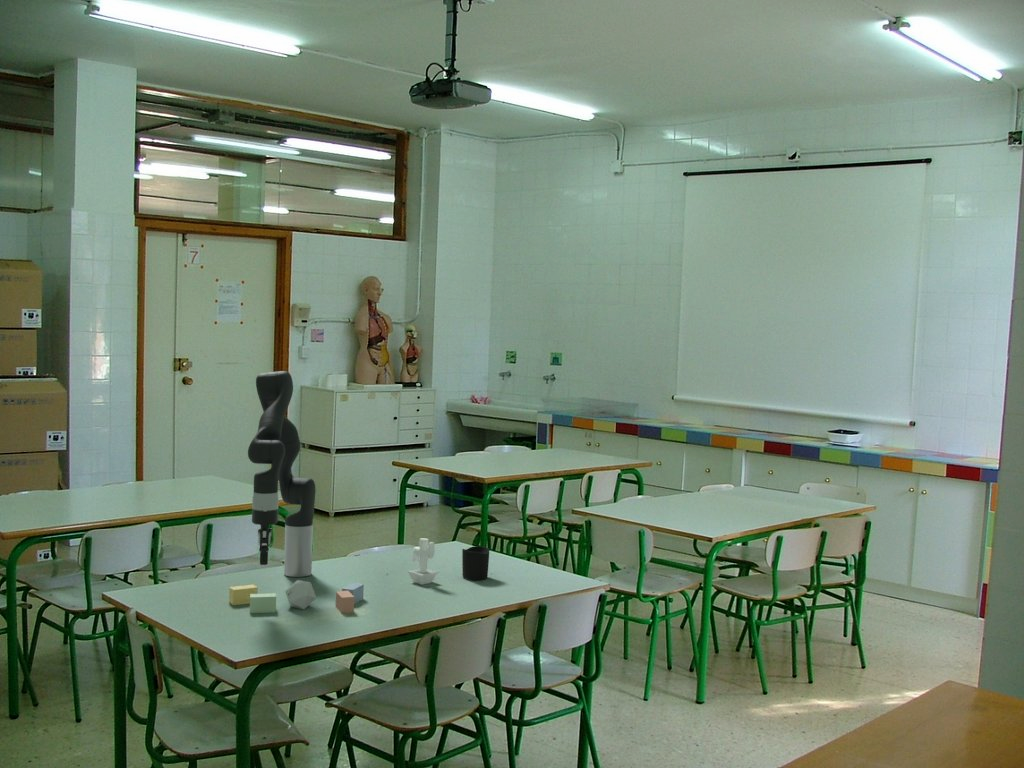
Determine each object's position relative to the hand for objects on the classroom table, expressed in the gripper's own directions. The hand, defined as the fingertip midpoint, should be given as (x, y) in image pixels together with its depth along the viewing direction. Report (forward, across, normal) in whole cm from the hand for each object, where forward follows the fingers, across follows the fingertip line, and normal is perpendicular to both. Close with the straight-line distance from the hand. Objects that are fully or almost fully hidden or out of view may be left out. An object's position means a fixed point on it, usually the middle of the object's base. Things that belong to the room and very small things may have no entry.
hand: (263, 561), depth 297 cm
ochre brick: (+15, -10, -6) cm, 19 cm away
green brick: (+15, 0, 0) cm, 15 cm away
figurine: (+15, -29, +52) cm, 61 cm away
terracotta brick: (+15, +1, +24) cm, 28 cm away
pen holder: (+15, -34, +71) cm, 80 cm away
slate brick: (+15, -8, +27) cm, 32 cm away
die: (+15, -3, +11) cm, 19 cm away
